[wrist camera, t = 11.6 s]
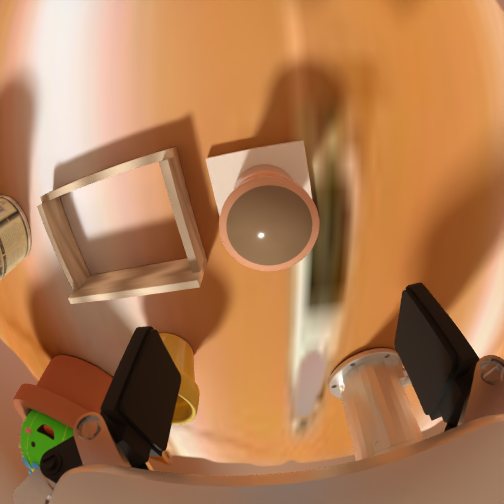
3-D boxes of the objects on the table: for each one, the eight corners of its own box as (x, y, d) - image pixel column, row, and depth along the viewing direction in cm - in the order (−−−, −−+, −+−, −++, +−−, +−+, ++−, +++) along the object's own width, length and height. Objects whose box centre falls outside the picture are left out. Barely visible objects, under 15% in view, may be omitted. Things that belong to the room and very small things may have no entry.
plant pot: (148, 370, 39) (132, 420, 31) (126, 321, 35) (100, 374, 26) (211, 373, 39) (204, 428, 30) (198, 322, 34) (184, 383, 26)
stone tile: (301, 140, 25) (303, 141, 24) (313, 227, 29) (315, 231, 28) (207, 157, 25) (205, 158, 24) (227, 242, 29) (227, 246, 28)
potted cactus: (145, 424, 49) (123, 523, 26) (60, 395, 47) (25, 478, 25) (135, 366, 39) (90, 507, 17) (30, 329, 37) (-33, 431, 15)
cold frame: (176, 146, 25) (159, 152, 20) (207, 261, 30) (200, 287, 26) (52, 190, 26) (26, 204, 22) (88, 281, 32) (70, 304, 27)
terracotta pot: (295, 154, 24) (313, 170, 17) (305, 222, 27) (323, 262, 20) (221, 167, 25) (208, 188, 18) (237, 234, 28) (231, 278, 21)
